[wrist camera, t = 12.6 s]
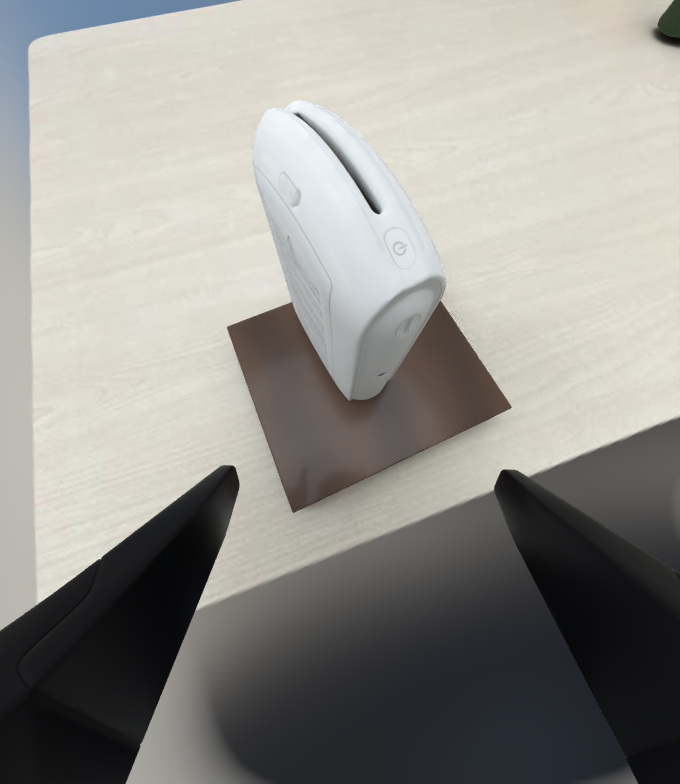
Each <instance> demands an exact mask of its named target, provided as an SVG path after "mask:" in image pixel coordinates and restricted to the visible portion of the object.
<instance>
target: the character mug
mask: <svg viewBox="0 0 680 784" xmlns="http://www.w3.org/2000/svg"><path fill="white" fill-rule="evenodd" d="M658 27H659V30H660V32H662V33H664V34H665V35H667V36H670V37H676V38H680V0H674V1H673V2H672V4H671V5H670V6H669V7H668V9H667V10H666V11H665V13H664V14H663V15H662V16H661V18H660V19H659V22H658Z"/></svg>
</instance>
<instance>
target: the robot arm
mask: <svg viewBox="0 0 680 784" xmlns="http://www.w3.org/2000/svg"><path fill="white" fill-rule="evenodd" d="M238 491H239V479H238V475H237V472H236V468H235V467H234V466H227V465H223V466H220V467H219V468H218V469H216V470H215V471H214V472H212V473H211V474H210V475H208V476H207V477H206V478H204V479H203V480H202V481H201V482H199V483H198V484H197V485H195V486H194V487H193V488H191V489H190V490H189V491H187V492H186V493H185V494H184V495H182V496H181V497H180V498H178V499H177V500H176V501H174V502H173V503H172V504H170V505H169V506H168V507H167V508H165V509H164V510H163V511H161V512H160V513H159V514H157V515H156V516H155V517H153V518H152V519H151V520H150V521H148V522H147V523H146V524H144V525H143V526H142V527H140V528H139V529H138V530H136V531H135V532H134V533H132V534H131V535H130V536H129V537H127V538H126V539H125V540H123V541H122V542H121V543H119V544H118V545H117V546H115V547H114V548H113V549H112V550H110V551H109V552H108V553H106V554H105V555H104V556H103V557H102V558H101V559H99V560H97V561H96V562H94V563H93V564H92V565H90V566H89V567H88V568H87V569H85V570H84V571H83V572H81V573H80V574H79V575H77V576H76V577H75V578H73V579H72V580H71V581H69V582H68V583H67V584H65V585H64V586H63V587H61V588H60V589H58V590H57V591H56V592H54V593H53V594H52V595H50V596H49V597H48V598H46V599H45V600H43V601H42V602H40V603H39V604H38V605H36V606H35V607H34V608H32V609H31V610H29V611H28V612H26V613H25V614H24V615H22V616H21V617H19V618H18V619H16V620H15V621H14V622H12V623H11V624H9V625H8V626H6V627H5V628H4V629H2V630H1V631H0V784H126V781H127V779H128V776H129V774H130V771H131V769H132V766H133V764H134V761H135V759H136V756H137V754H138V751H139V749H140V744H141V743H142V741H143V739H144V736H145V733H146V731H147V729H148V726H149V724H150V721H151V719H152V716H153V714H154V711H155V709H156V706H157V704H158V701H159V699H160V696H161V694H162V691H163V689H164V687H165V684H166V682H167V679H168V677H169V674H170V672H171V669H172V666H173V664H174V662H175V659H176V657H177V654H178V652H179V649H180V647H181V644H182V642H183V640H184V637H185V635H186V632H187V629H188V627H189V625H190V622H191V619H192V617H193V615H194V612H195V610H196V607H197V605H198V602H199V600H200V597H201V595H202V592H203V590H204V588H205V585H206V583H207V580H208V578H209V575H210V573H211V570H212V568H213V565H214V563H215V560H216V558H217V555H218V553H219V550H220V548H221V545H222V543H223V540H224V538H225V535H226V532H227V529H228V525H229V522H230V518H231V515H232V512H233V508H234V505H235V501H236V498H237V494H238ZM494 491H495V495H496V497H497V500H498V502H499V505H500V507H501V510H502V512H503V515H504V517H505V520H506V522H507V525H508V527H509V530H510V532H511V534H512V537H513V539H514V541H515V543H516V545H517V548H518V549H519V552H520V553H521V555H522V557H523V559H524V561H525V563H526V565H527V567H528V569H529V571H530V573H531V575H532V577H533V579H534V581H535V583H536V585H537V587H538V589H539V590H540V592H541V594H542V596H543V598H544V600H545V602H546V604H547V606H548V608H549V610H550V612H551V614H552V616H553V618H554V620H555V622H556V624H557V625H558V628H559V629H560V631H561V633H562V635H563V637H564V639H565V641H566V643H567V645H568V647H569V649H570V651H571V653H572V655H573V657H574V659H575V661H576V663H577V665H578V666H579V668H580V670H581V672H582V674H583V676H584V678H585V680H586V682H587V684H588V686H589V688H590V690H591V692H592V694H593V696H594V698H595V700H596V702H597V703H598V705H599V707H600V709H601V711H602V713H603V715H604V717H605V719H606V721H607V723H608V725H609V727H610V729H611V731H612V732H613V735H614V736H615V739H616V741H617V743H618V744H619V746H620V748H621V750H622V752H623V754H624V756H625V757H626V760H627V763H628V765H629V766H630V768H631V770H632V772H633V774H634V776H635V778H636V780H637V782H638V784H680V573H679V572H678V571H675V570H672V568H671V567H670V566H668V565H666V564H665V563H663V562H662V561H660V560H659V559H657V558H655V557H654V556H652V555H651V554H649V553H647V552H646V551H644V550H643V549H641V548H639V547H638V546H636V545H635V544H633V543H632V542H630V541H628V540H627V539H625V538H624V537H622V536H620V535H619V534H617V533H615V532H614V531H613V530H611V529H609V528H608V527H606V526H605V525H603V524H601V523H599V522H598V521H597V520H595V519H594V518H592V517H590V516H589V515H587V514H586V513H584V512H582V511H580V510H579V509H578V508H576V507H574V506H573V505H571V504H570V503H568V502H567V501H565V500H563V499H562V498H560V497H559V496H557V495H555V494H554V493H552V492H550V491H549V490H547V489H546V488H544V487H543V486H541V485H540V484H538V483H536V482H535V481H533V480H532V479H530V478H528V477H527V476H525V475H524V474H522V473H521V472H519V471H517V470H502V471H501V472H500V475H499V477H498V479H497V481H496V484H495V486H494Z"/></svg>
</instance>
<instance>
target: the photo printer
mask: <svg viewBox="0 0 680 784" xmlns="http://www.w3.org/2000/svg"><path fill="white" fill-rule="evenodd" d="M253 167H254V174H255V179H256V184H257V187H258V190H259V194H260V197H261V200H262V203H263V207H264V210H265V213H266V216H267V220H268V223H269V226H270V229H271V233H272V236H273V239H274V243H275V246H276V249H277V253H278V256H279V259H280V263H281V266H282V269H283V273H284V276H285V279H286V283H287V286H288V290H289V293H290V296H291V300H292V303H293V306H294V309H295V312H296V314H297V316H298V318H299V320H300V322H301V324H302V326H303V328H304V330H305V332H306V333H307V335H308V337H309V339H310V341H311V343H312V344H313V346H314V348H315V350H316V351H317V353H318V355H319V357H320V358H321V360H322V362H323V364H324V365H325V367H326V369H327V370H328V372H329V374H330V375H331V377H332V378H333V380H334V382H335V383H336V385H337V386H338V388H339V389H340V391H341V392H342V393H343V394H344V396H345V397H346V398H347V399H348V400H349V401H350V400H352V399H355V400H366V399H370V398H372V397H374V396H376V395H377V394H378V393H379V392H380V391H381V390H382V389H383V387H384V386H385V384H386V382H387V381H388V380H390V379H391V378H392V377H393V375H394V374H395V372H396V371H397V369H398V368H399V366H400V365H401V363H402V361H403V360H404V358H405V357H406V355H407V353H408V352H409V350H410V349H411V347H412V345H413V344H414V342H415V341H416V339H417V337H418V336H419V334H420V333H421V331H422V330H423V328H424V326H425V325H426V323H427V321H428V320H429V318H430V317H431V315H432V313H433V312H434V310H435V308H436V307H437V305H438V304H439V302H440V300H441V298H442V297H443V294H444V291H445V287H446V278H445V274H444V271H443V268H442V265H441V261H440V258H439V255H438V253H437V250H436V247H435V245H434V243H433V240H432V238H431V236H430V234H429V232H428V230H427V228H426V226H425V224H424V222H423V220H422V218H421V217H420V215H419V213H418V211H417V210H416V208H415V206H414V204H413V203H412V201H411V199H410V198H409V196H408V195H407V193H406V191H405V190H404V188H403V187H402V185H401V184H400V183H399V181H398V180H397V178H396V177H395V176H394V174H393V173H392V171H391V170H390V169H389V167H388V166H387V165H386V163H385V162H384V161H383V159H382V158H381V157H380V156H379V155H378V153H377V152H376V151H375V150H374V149H373V148H372V147H371V146H370V144H369V143H368V142H367V141H366V140H365V139H364V138H363V137H362V136H361V135H360V134H359V133H358V132H357V131H356V130H355V129H353V128H352V127H351V126H350V125H349V124H348V123H346V122H345V121H344V120H343V119H341V118H340V117H338V116H337V115H336V114H334V113H332V112H331V111H329V110H327V109H325V108H323V107H321V106H318V105H315V104H313V103H310V102H305V101H294V102H292V103H291V104H290V105H289V106H287V107H285V108H282V109H278V108H269V109H268V110H267V111H266V112H265V114H264V115H263V117H262V119H261V121H260V123H259V125H258V128H257V130H256V134H255V138H254V144H253Z"/></svg>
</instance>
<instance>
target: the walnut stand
mask: <svg viewBox="0 0 680 784" xmlns="http://www.w3.org/2000/svg"><path fill="white" fill-rule="evenodd" d="M227 329H228V332H229V335H230V338H231V341H232V343H233V346H234V349H235V352H236V355H237V357H238V360H239V363H240V366H241V369H242V372H243V374H244V377H245V380H246V383H247V386H248V388H249V391H250V394H251V397H252V400H253V402H254V405H255V408H256V411H257V414H258V417H259V419H260V422H261V425H262V428H263V431H264V433H265V436H266V439H267V442H268V445H269V447H270V450H271V453H272V456H273V459H274V461H275V464H276V467H277V470H278V473H279V476H280V478H281V481H282V484H283V487H284V490H285V492H286V495H287V498H288V501H289V504H290V506H291V509H292V512H293V513H294V512H296V511H299V510H301V509H303V508H305V507H307V506H309V505H311V504H313V503H315V502H317V501H319V500H321V499H324V498H326V497H328V496H330V495H332V494H334V493H336V492H338V491H340V490H342V489H344V488H346V487H349V486H351V485H353V484H355V483H357V482H359V481H361V480H363V479H365V478H367V477H369V476H371V475H373V474H376V473H378V472H380V471H382V470H384V469H386V468H388V467H390V466H392V465H394V464H396V463H398V462H401V461H403V460H405V459H407V458H409V457H411V456H413V455H415V454H417V453H419V452H421V451H423V450H426V449H428V448H430V447H432V446H434V445H436V444H438V443H440V442H442V441H444V440H446V439H448V438H450V437H453V436H455V435H457V434H459V433H461V432H463V431H465V430H467V429H469V428H471V427H473V426H475V425H478V424H480V423H482V422H484V421H486V420H488V419H490V418H492V417H494V416H496V415H498V414H500V413H503V412H505V411H507V410H509V409H511V408H512V407H511V405H510V404H509V402H508V401H507V399H506V398H505V396H504V395H503V393H502V392H501V390H500V389H499V387H498V386H497V384H496V383H495V381H494V380H493V378H492V377H491V375H490V374H489V372H488V371H487V369H486V368H485V366H484V365H483V363H482V362H481V360H480V359H479V357H478V356H477V354H476V353H475V351H474V350H473V348H472V347H471V345H470V344H469V342H468V341H467V339H466V338H465V336H464V335H463V333H462V332H461V330H460V329H459V327H458V326H457V324H456V323H455V321H454V320H453V318H452V317H451V315H450V314H449V313H448V311H447V310H446V308H445V307H444V305H443V304H442V302H441V301H440V302H439V304H438V305H437V307H436V308H435V310H434V312H433V313H432V315H431V317H430V318H429V320H428V321H427V323H426V325H425V326H424V328H423V330H422V331H421V333H420V334H419V336H418V337H417V339H416V341H415V342H414V344H413V345H412V347H411V349H410V350H409V352H408V353H407V355H406V357H405V358H404V360H403V361H402V363H401V365H400V366H399V368H398V369H397V371H396V372H395V374H394V375H393V377H392V378H391V379H390V380H388V381H387V382H386V384H385V386H384V387H383V389H382V390H381V391H380V392H379V393H378V394H377V395H376V396H374V397H372V398H370V399H366V400H355V399H352V400H350V401H349V400H348V399H347V398H346V397H345V396H344V394H343V393H342V392H341V391H340V389H339V388H338V386H337V385H336V383H335V382H334V380H333V378H332V377H331V375H330V374H329V372H328V370H327V369H326V367H325V365H324V364H323V362H322V360H321V358H320V357H319V355H318V353H317V351H316V350H315V348H314V346H313V344H312V343H311V341H310V339H309V337H308V335H307V333H306V332H305V330H304V328H303V326H302V324H301V322H300V320H299V318H298V316H297V314H296V312H295V309H294V306H293V303H292V302H291V303H289V304H286V305H283V306H281V307H278V308H275V309H273V310H270V311H268V312H265V313H262V314H260V315H257V316H254V317H252V318H249V319H246V320H244V321H241V322H239V323H236V324H233V325H231V326H228V327H227Z"/></svg>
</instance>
